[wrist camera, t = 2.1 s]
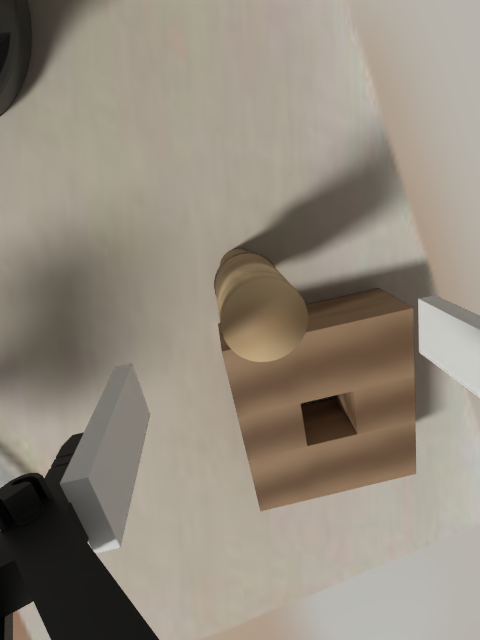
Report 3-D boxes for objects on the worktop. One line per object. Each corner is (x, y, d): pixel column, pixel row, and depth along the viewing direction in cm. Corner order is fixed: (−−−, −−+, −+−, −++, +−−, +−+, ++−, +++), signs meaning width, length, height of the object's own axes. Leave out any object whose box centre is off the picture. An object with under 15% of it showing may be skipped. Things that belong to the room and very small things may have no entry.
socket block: (218, 324, 34) (221, 351, 29) (378, 288, 35) (413, 307, 29) (252, 466, 41) (260, 511, 35) (386, 434, 41) (416, 473, 36)
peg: (206, 246, 31) (211, 290, 18) (260, 234, 32) (303, 269, 19) (218, 298, 33) (230, 371, 20) (269, 286, 33) (314, 351, 20)
